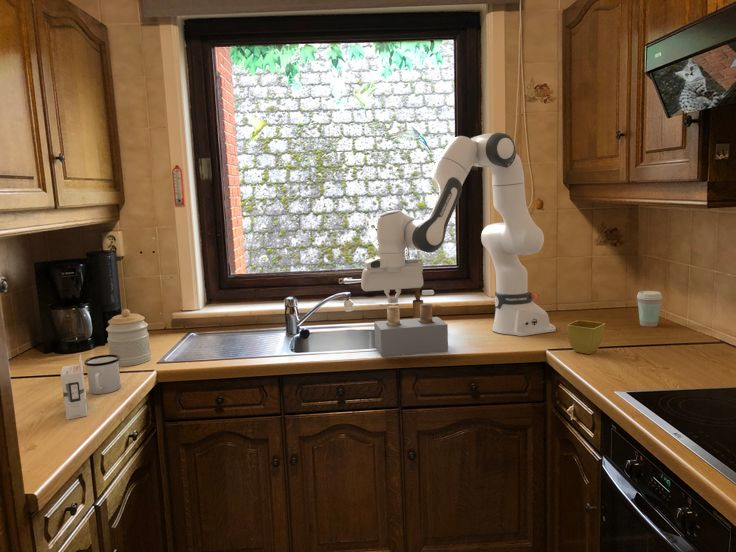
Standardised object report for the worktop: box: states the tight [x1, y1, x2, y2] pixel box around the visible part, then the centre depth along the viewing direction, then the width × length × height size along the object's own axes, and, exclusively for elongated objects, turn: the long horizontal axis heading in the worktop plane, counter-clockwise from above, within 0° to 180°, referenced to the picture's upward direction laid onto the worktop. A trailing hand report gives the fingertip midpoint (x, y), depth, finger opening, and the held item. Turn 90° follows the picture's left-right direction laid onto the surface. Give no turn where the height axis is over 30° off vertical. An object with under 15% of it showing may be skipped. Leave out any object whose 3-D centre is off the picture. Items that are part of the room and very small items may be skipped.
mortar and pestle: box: [412, 287, 424, 319], centre depth 230 cm, size 7×6×18 cm
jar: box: [105, 308, 152, 367], centre depth 203 cm, size 13×13×18 cm
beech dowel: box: [386, 305, 401, 326], centre depth 202 cm, size 4×4×9 cm
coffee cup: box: [636, 290, 663, 328], centre depth 223 cm, size 8×9×12 cm
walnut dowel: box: [420, 303, 433, 324], centre depth 204 cm, size 4×4×9 cm
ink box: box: [60, 352, 88, 421], centre depth 157 cm, size 8×5×15 cm, turn 24°
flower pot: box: [566, 319, 606, 355], centre depth 193 cm, size 9×9×9 cm
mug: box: [83, 354, 122, 395], centre depth 174 cm, size 12×10×9 cm
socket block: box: [373, 316, 449, 358], centre depth 204 cm, size 22×12×9 cm, turn 99°
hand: (393, 302), depth 202 cm, fingers closed
